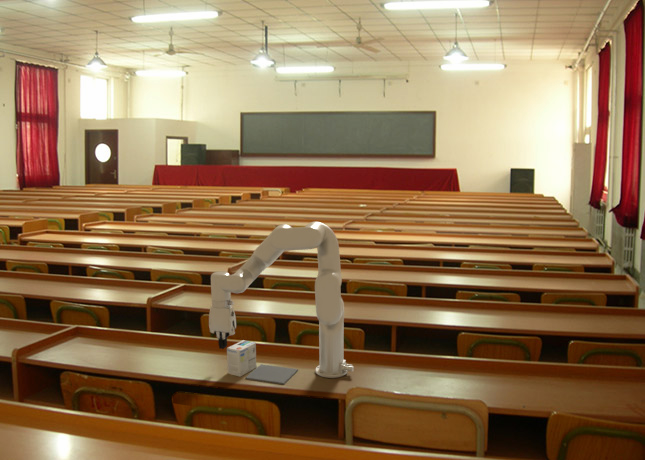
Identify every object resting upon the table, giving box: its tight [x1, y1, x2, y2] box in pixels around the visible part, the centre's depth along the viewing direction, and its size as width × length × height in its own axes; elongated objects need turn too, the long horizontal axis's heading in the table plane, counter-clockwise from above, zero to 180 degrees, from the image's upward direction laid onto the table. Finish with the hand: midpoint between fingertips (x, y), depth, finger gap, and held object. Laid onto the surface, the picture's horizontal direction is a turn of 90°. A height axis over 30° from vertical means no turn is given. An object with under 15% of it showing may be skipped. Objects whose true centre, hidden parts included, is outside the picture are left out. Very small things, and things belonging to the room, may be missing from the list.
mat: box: [245, 363, 299, 385], centre depth 242 cm, size 16×14×1 cm
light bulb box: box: [226, 339, 257, 377], centre depth 245 cm, size 11×7×11 cm, turn 149°
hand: (222, 347), depth 248 cm, fingers closed
